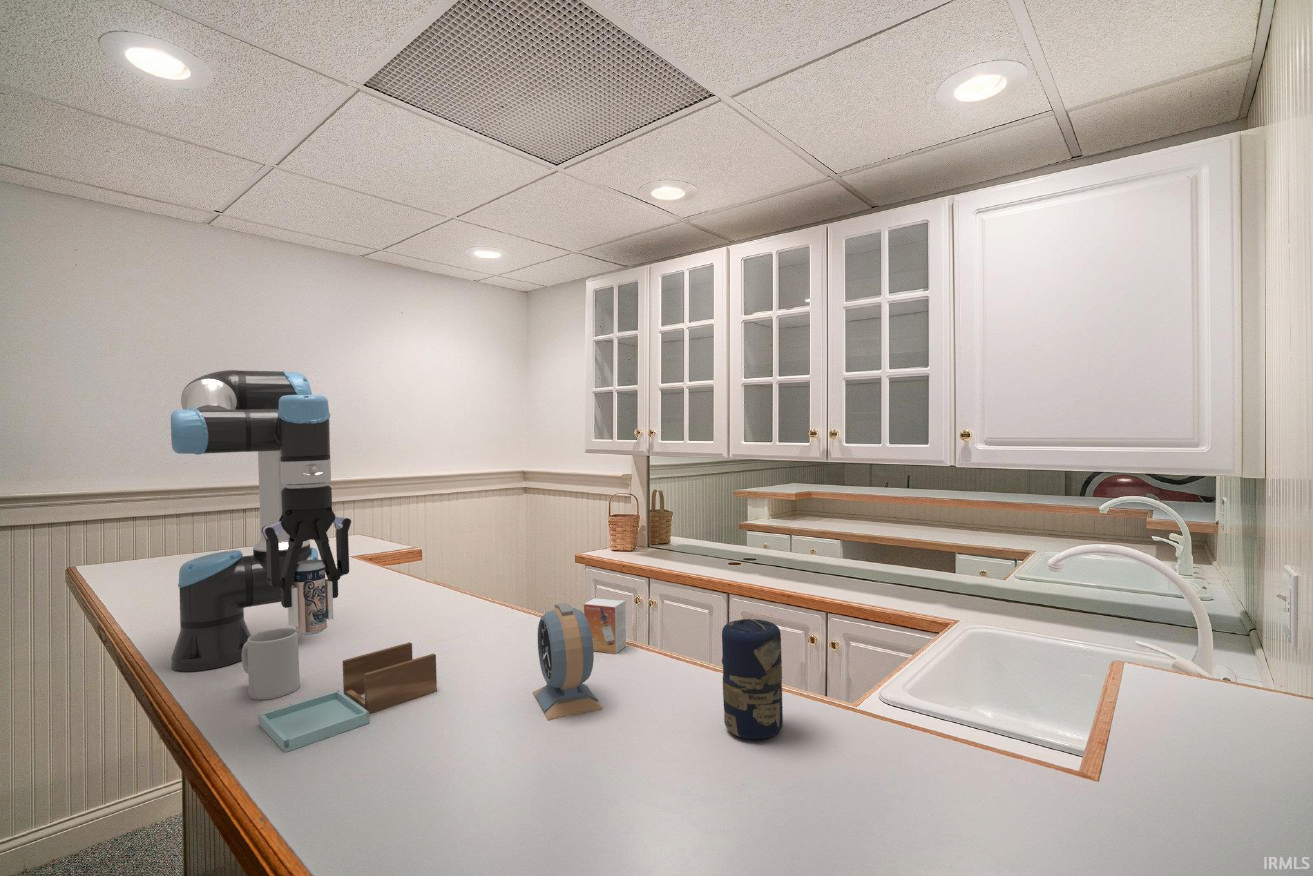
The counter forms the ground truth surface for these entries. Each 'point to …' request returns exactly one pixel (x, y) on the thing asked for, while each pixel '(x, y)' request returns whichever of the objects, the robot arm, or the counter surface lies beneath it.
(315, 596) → the beer can
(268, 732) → the tray
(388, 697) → the cradle
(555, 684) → the alarm clock
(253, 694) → the mug
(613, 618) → the small box
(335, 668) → the counter surface
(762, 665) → the canister
